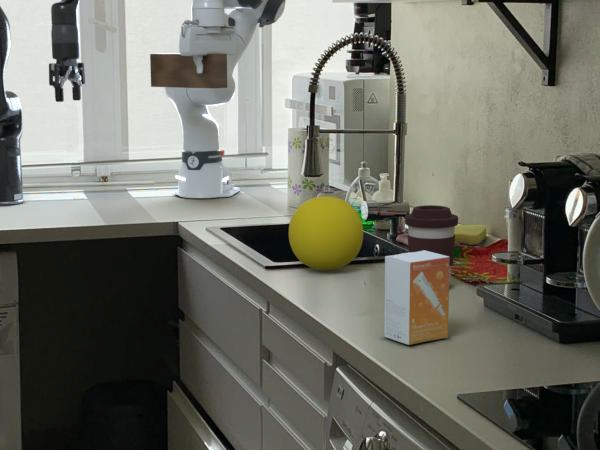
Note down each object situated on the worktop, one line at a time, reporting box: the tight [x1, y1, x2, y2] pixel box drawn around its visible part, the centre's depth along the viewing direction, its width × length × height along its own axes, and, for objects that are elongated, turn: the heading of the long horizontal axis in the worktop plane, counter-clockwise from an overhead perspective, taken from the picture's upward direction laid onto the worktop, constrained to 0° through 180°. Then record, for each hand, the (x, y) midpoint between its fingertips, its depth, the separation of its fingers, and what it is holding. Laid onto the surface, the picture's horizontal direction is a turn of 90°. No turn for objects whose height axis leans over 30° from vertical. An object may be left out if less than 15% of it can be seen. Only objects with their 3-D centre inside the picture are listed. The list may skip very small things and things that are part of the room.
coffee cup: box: [404, 204, 459, 286], centre depth 197 cm, size 10×10×15 cm
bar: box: [149, 53, 227, 89], centre depth 285 cm, size 23×5×9 cm, turn 54°
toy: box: [288, 195, 364, 271], centre depth 213 cm, size 15×15×15 cm
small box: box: [383, 250, 450, 346], centre depth 162 cm, size 8×6×13 cm
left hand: (68, 101), depth 289 cm, fingers open, 8 cm apart
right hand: (209, 72), depth 280 cm, fingers closed on bar, 5 cm apart
